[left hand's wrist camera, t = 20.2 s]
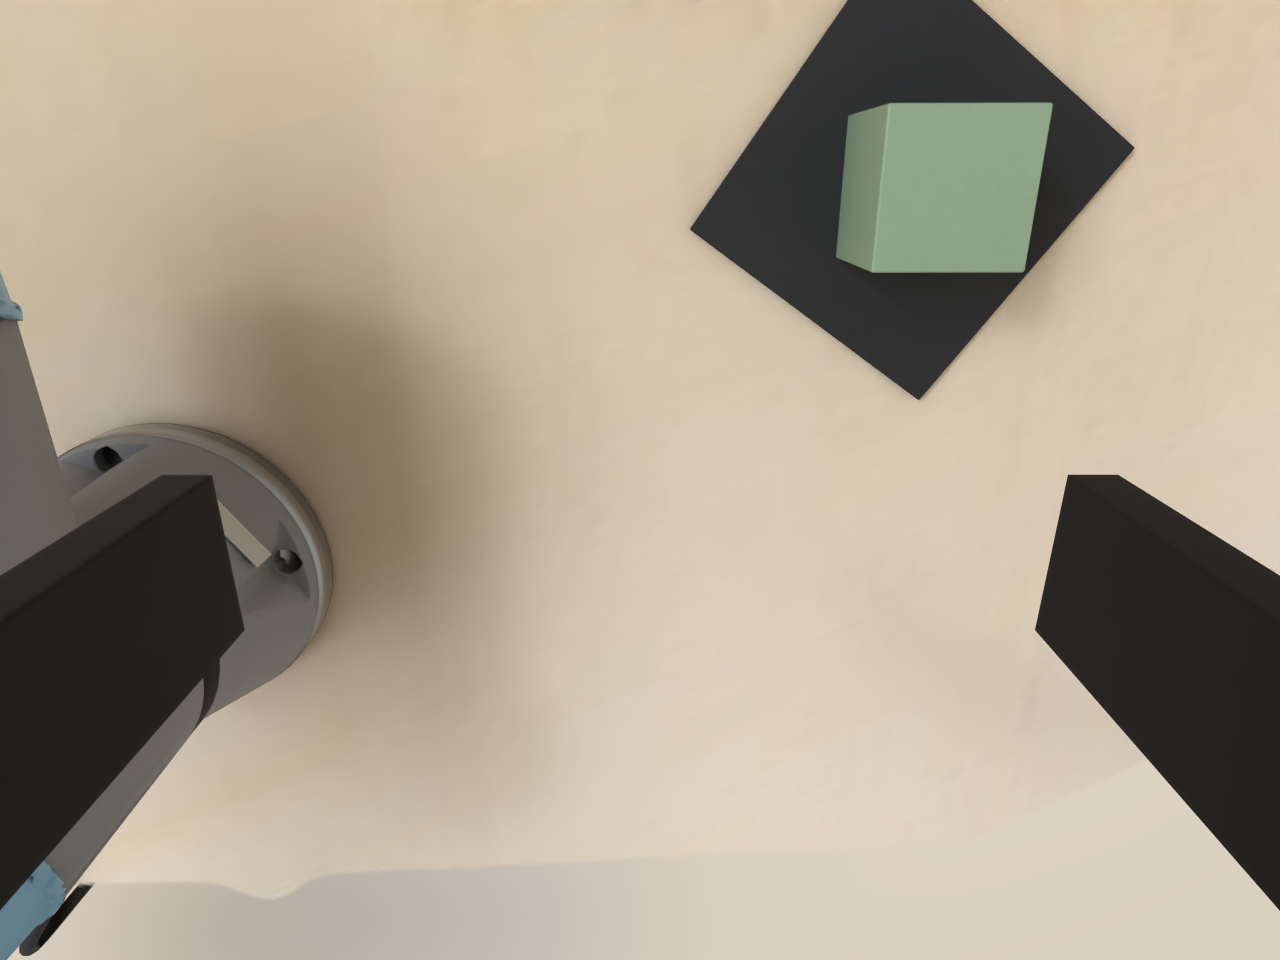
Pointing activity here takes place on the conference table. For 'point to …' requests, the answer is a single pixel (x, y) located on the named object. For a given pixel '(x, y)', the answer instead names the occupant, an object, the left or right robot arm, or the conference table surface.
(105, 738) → the left robot arm
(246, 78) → the conference table surface
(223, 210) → the conference table surface
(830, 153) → the rubber mat
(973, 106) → the green block
